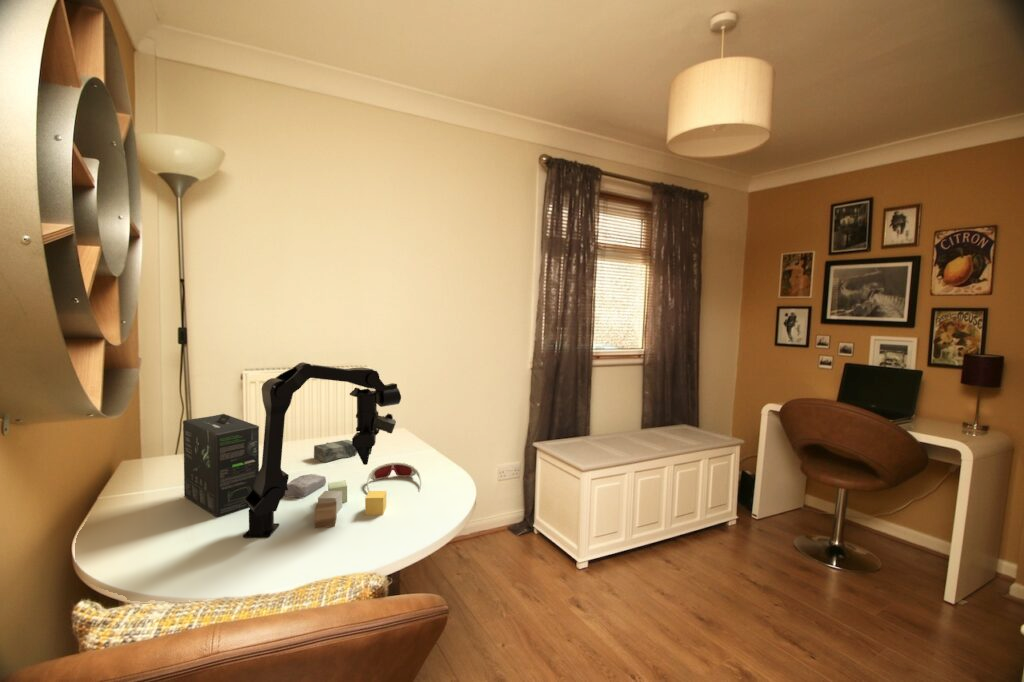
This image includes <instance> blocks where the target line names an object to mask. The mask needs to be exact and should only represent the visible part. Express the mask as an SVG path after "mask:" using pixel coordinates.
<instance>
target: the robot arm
mask: <svg viewBox="0 0 1024 682" xmlns="http://www.w3.org/2000/svg"><path fill="white" fill-rule="evenodd" d="M310 379H318V380H328V381H335V382H336V381H337V382H346V383H350V384H352V385H356V386H359V387H355V388H354V389H353V390H352V391H351V392H350V393H349V396H351V397H354V398H356V414H355V418H356V428H355V434H354V435H353V436H352V438H351V441H352V445H353V446H354V447H355V449H356V451H357V455H358V456H359V458H360V460H361V462H362V465H364V466H367V465H368V463H369V459H370V455H371V454H372V451H373V447H374V446H375V445H376V440H377V435H378V434H379V433H380V431H383V432H386V433H387V434H393V432H394V429H395V426H396V423H397V422H396V421H397V420H396V419H394V418H393V417H394V416H393V413H392V414H391V413H388V412H387V414H386V415H379V411H378V410H377V407H378V406H379V407H381V408H382V407H383V408H384V407H389V406H394V405H399V404H400V402H401V400H402V395H401V392H400V389H399V388H398V383H393V382H392V383H389V384H384V383H383V381H382V380H381V378H380V374H379V372H378V371H377V370H376V369H372V368H369V367H362V366H360V367H351V368H344V367H343V368H342V367H335V366H328V365H327V366H326V365H319V364H313V363H307V362H299V363H297V364H296V365H295V366H294V367H291V368H290V369H287V370H286V371H284V372H282V373H280V374H278V375H277V376H275V377H272V378H269V379H266V381H264V382H263V383H262V385H261V397H262V398H261V399H262V403H263V407H264V410H265V423H264V434H263V444H262V445H263V446H262V447H263V448H262V459H261V467H260V468H259V472H258V474H257V476H256V480H255V484H254V488H253V490H252V491H251V492H250V493H249V494H248V495H247V496H246V497H245V499H244V502H245V504H246V506H248V530H246V532H244V534H243V535H242V538H244V539H245V538H269V537H270V536H271V535H272V534H273V533H274V532H275V531H276V530H277V528H278V527H279V526H280V523H278V522H275V516H274V515H275V512H277V510H278V508H279V504H280V502H281V500H282V499H284V497H285V496H284V495H285V490H287V491H288V488H287V484H288V483H289V474H288V473H287V472H285V471H284V470H282V456H283V445H284V432H285V418H286V413H287V411H288V410H289V408H290V405H291V404H292V399H293V396H294V394H295V393H296V392H297V391H299V389H300V388H301V387H303V385H304V384H305V383H306V382H307V381H308V380H310ZM360 387H364V389H363V388H362V389H360ZM371 389H372V390H371ZM377 405H378V406H377Z"/></svg>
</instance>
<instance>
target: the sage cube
mask: <svg viewBox="0 0 1024 682" xmlns="http://www.w3.org/2000/svg"><path fill="white" fill-rule="evenodd" d="M347 484H348V483H347V481H346V480H338V481H331V482H330V481H329V482H328V483H327V485H328V490H327V491H342V504H344V503H347V502H348V485H347Z"/></svg>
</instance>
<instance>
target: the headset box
mask: <svg viewBox="0 0 1024 682" xmlns="http://www.w3.org/2000/svg"><path fill="white" fill-rule="evenodd" d="M182 430H183V439H182V441H183V477H184V478H183V492H184V493H183V495H184V498H186V499H188V500H190V501H191V502H193V503H194V504H195V505H197V506H199V507H200V508H202V509H204V510H205V511H207V512H208V513H210V514H211V515H213V516H215V517H216V518H221V517H223V516H227V515H230V514H233V513H236V512H239V511H242V510H245V509H249V507H248V506H246V504H245V502H244V499H245V497H246V496H247V495H248V494H249V493H250V492H251V491H252V490H253V488H254V484H255V480H256V476H257V474H258V472H259V471H260V448H259V447H260V445H259V444H260V441H259V440H260V426H259V425H257V424H254V423H250V422H248V421H245V420H243V419H240V418H238V417H233V416H231V415H229V414H225V413H221V414H215V415H211V416H205V417H204V416H203V417H198V418H191V419H185V420H182Z"/></svg>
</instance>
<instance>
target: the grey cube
mask: <svg viewBox="0 0 1024 682" xmlns="http://www.w3.org/2000/svg"><path fill="white" fill-rule="evenodd" d="M331 501H337V514H339V512H340V511H341V509H342V508H343V503H342V491H328V490H324V491H323V492H322V493H321V494H320V495H319V496H318V497H317V503H319V502H331Z"/></svg>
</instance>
